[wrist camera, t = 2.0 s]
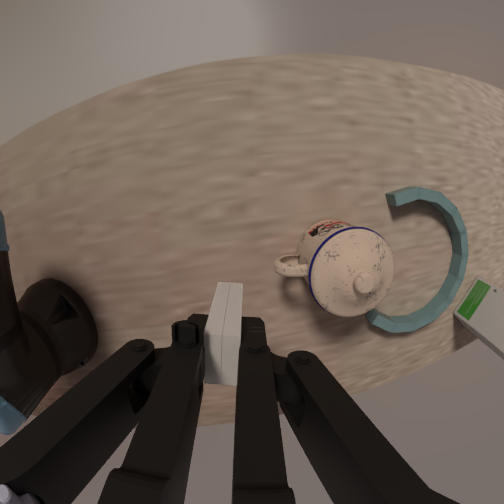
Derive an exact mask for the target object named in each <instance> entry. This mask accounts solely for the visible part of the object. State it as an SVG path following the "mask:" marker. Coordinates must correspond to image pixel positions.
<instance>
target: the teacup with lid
mask: <svg viewBox="0 0 504 504" xmlns="http://www.w3.org/2000/svg"><path fill="white" fill-rule="evenodd" d="M274 270H275V272H276V273H278V274H279V275H282V276H287V277H304V279H305V280H306V282H307V283H308V285H309V287H310V291H311V293H312V296H313V298H314V299H315V301H316V302H317V304H318V305H319V306H320V307H321V308H323V309H324V310H325V311H327V312H329V313H331V314H333V315H337V316H341V317H354V316H358V315H361V314H364V313H366V312H368V311H370V310H372V309H373V308H374V307H376V306H377V305H378V304H379V303H380V302H381V301H382V300H383V299H384V297H385V296H386V294H387V293H388V291H389V289H390V287H391V284H392V281H393V277H394V259H393V255H392V252H391V249H390V248H389V246H388V244H387V242H386V241H385V240H384V239H383V238H382V237H381V236H380V235H379V234H378V233H376V232H375V231H373V230H370V229H368V228H364V227H356V226H353V225H351V224H348V223H345V222H343V221H339V220H324V221H320V222H318V223H316V224H314V225H313V226H311V227H310V228H309V229H308V230H307V231H306V232H305V233H304V234H303V236H302V237H301V239H300V241H299V244H298V247H297V254H296V255H285V256H282V257H279V258H277V259H276V260H275V262H274Z"/></svg>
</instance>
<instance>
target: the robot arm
mask: <svg viewBox="0 0 504 504" xmlns="http://www.w3.org/2000/svg"><path fill="white" fill-rule="evenodd" d="M8 251H9V245H8V244H7V238H6V230H5V221H4V216H3V214H2V212H1V210H0V433H2V434H5V435H10V434H13V433H14V432H15V431H16V430H17V429H18V428H19V427H20V426H21V425H22V423H23V422H26V420H27V419H28V417H29V416H30V415H31V413H32V412H33V411H34V409H35V408H36V407H37V405H38V404H39V403H40V401H41V400H42V399H43V397H44V396H45V395H46V394H47V392H48V391H49V390H50V388H51V387H52V386H53V385H54V383H55V382H56V381H57V380H58V379H59V378H60V377H61V376H63V375H65V374H67V373H70V372H72V371H74V370H76V369H78V368H80V367H82V366H84V365H85V364H86V363H87V362H88V361H89V360H90V359H91V357H92V356H93V355H94V353H95V351H96V348H97V341H98V340H97V330H96V326H95V323H94V320H93V318H92V315H91V313H90V311H89V310H88V308H87V306H86V305H85V303H84V302H83V301H82V299H81V298H80V297H79V296H78V295H77V293H76V292H75V291H73V290H72V289H71V288H70V287H69V286H67V285H66V284H64V283H62V282H60V281H58V280H55V279H50V278H47V279H42V280H40V281H38V282H36V283H34V284H32V285H31V286H30V287H29V288H28V289H27V290H26V291H25V293H24V295H23V296H22V297H21V299H20V300H19V301H18V303H17V301H16V296H15V292H14V287H13V282H12V276H11V270H10V263H9V256H8ZM242 290H243V283H231V284H230V283H228V282H218V285H217V288H216V292H215V295H214V299H213V302H212V306H211V309H210V313H209V315H204V314H192V315H191V316H190V317H188V319H187V320H182V321H178V322H175V323H174V324H173V325H172V344H171V347H167V348H156V349H154V344H153V343H152V342H151V341H148V340H145V339H135V340H131V341H129V342H128V343H126V344H125V345H124V346H123V347H121V348H120V349H119V350H118V351H116V352H115V353H114V354H113V355H111V356H110V357H109V358H108V359H107V360H105V361H104V362H103V363H102V364H100V365H99V366H98V367H97V368H96V369H94V370H93V371H92V372H91V373H89V374H88V375H87V376H86V377H85V378H83V379H82V380H81V381H80V382H78V383H77V384H76V385H75V386H74V387H72V388H71V389H70V390H69V391H68V392H66V393H65V394H64V395H63V396H61V397H60V398H59V399H58V400H57V401H55V402H54V403H53V404H52V405H51V406H49V407H48V408H47V409H46V410H45V411H43V412H42V413H41V414H40V415H39V416H37V417H36V418H35V419H34V420H33V421H31V422H30V423H29V424H28V425H27V426H25V427H24V428H23V429H22V430H21V431H19V432H18V433H17V434H16V435H15V436H14V437H12V438H11V439H10V440H9V441H7V442H6V443H5V444H4V445H3V446H1V447H0V504H71V503H72V502H73V501H74V500H75V498H76V497H77V496H78V495H79V494H80V492H81V491H82V490H83V489H84V488H85V487H86V485H87V484H88V483H89V482H90V481H91V479H92V478H93V477H94V476H95V475H96V473H97V472H98V471H99V470H100V468H101V467H102V466H103V465H104V464H105V462H106V461H107V460H108V459H109V458H110V456H111V455H112V454H113V453H114V451H115V450H116V449H117V448H118V447H119V445H120V444H121V443H122V442H123V440H124V439H125V438H126V437H127V435H128V434H129V433H130V432H131V430H132V429H133V428H134V427H135V426H136V424H137V423H138V422H139V423H138V425H137V428H136V431H135V433H134V435H133V438H132V441H131V443H130V446H129V449H128V451H127V454H126V456H125V459H124V461H123V464H122V466H121V467H120V468H118V469H117V468H114V469H113V470H112V471H111V472H110V473H109V475H108V478H107V480H106V483H105V485H104V488H103V490H102V493H101V496H100V498H99V501H98V504H184V500H185V493H186V487H187V481H188V475H189V468H190V463H191V456H192V451H193V445H194V439H195V434H196V428H197V422H198V417H199V411H200V406H201V400H202V395H203V380H204V383H208V384H220V385H234V386H237V392H236V412H235V435H234V458H233V481H232V504H295V497H294V493H293V490H292V488H289V486H288V483H287V475H286V467H285V459H284V452H283V443H282V436H281V428H280V420H279V413H278V405H277V401H279V403H280V407H281V409H282V411H283V413H284V414H285V416H286V418H287V420H288V422H289V424H290V426H291V428H292V430H293V431H294V434H295V435H296V437H297V439H298V441H299V443H300V445H301V447H302V448H303V450H304V452H305V454H306V456H307V458H308V459H309V461H310V463H311V465H312V466H313V468H314V470H315V472H316V474H317V475H318V477H319V479H320V481H321V482H322V484H323V486H324V487H325V489H326V491H327V493H328V495H329V496H330V498H331V500H332V501H333V503H334V504H460V503H457V502H456V501H453V500H451V499H449V498H447V497H445V496H443V495H441V494H439V493H437V492H435V491H433V490H432V489H430V488H429V487H428V486H427V485H426V484H425V483H424V482H423V481H422V479H421V478H420V477H419V476H418V475H417V474H416V473H415V471H414V470H413V469H412V468H411V467H410V466H409V465H408V463H407V462H406V461H405V460H404V459H403V458H402V457H401V455H400V454H399V453H398V452H397V451H396V450H395V448H394V447H393V446H392V445H391V444H390V443H389V441H388V440H387V439H386V438H385V437H384V436H383V435H382V433H381V432H380V431H379V430H378V429H377V428H376V427H375V425H374V424H373V423H372V422H371V421H370V419H369V418H368V417H367V416H366V415H365V413H364V412H363V411H362V410H361V409H360V408H359V406H358V405H357V404H356V403H355V402H354V400H353V399H352V398H351V397H350V396H349V394H348V393H347V392H346V391H345V390H344V388H343V387H342V386H341V385H340V384H339V382H338V381H337V380H336V379H335V378H334V376H333V375H332V374H331V373H330V372H329V370H328V369H327V368H326V367H325V366H324V364H323V363H322V362H321V361H320V360H319V358H318V357H317V356H316V355H314V354H313V353H311V352H308V351H294V352H291V353H290V354H288V357H287V358H286V357H281V356H278V355H275V354H273V353H272V352H270V348H269V346H267V341H266V333H265V325H264V322H263V320H262V319H261V318H257V317H242Z"/></svg>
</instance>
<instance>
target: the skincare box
mask: <svg viewBox="0 0 504 504" xmlns="http://www.w3.org/2000/svg"><path fill="white" fill-rule="evenodd" d="M453 314H454V315H455V316H456V317H457V318H458V320H459V321H460V322H461V323H462V324H463V325H464V326H465V328H467V329H468V330H469V331H470V332H471V333H473V334H474V335H475V336H476V337H477V338H479V339H480V340H481V341H482V342H483V343H485V344H486V345H487V346H488V347H489V348H490V349H492V350H493V351H494V352H495V353H496V354H497V355H498V356H500V357H501V358H502V359H503V360H504V290H503V289H501V288H499V287H497V286H495V285H494V284H492V283H490V282H488V281H486V280H484V279H483V278H481V277H479V276H478V277H477V278H476V279H475V281H474V283H473V284H472V286H471V287H470V289H469V290H468V292H467V293H466V295H465V296H464V298H463V299H462V301H461V302H460V304H459V305H458V307H457V308H456V309H455V311H454V312H453Z"/></svg>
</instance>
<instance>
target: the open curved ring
mask: <svg viewBox="0 0 504 504" xmlns="http://www.w3.org/2000/svg"><path fill="white" fill-rule="evenodd" d="M386 198H387V202H388V205H392V206H400V205H403V204H406V203H409V202H412V201H415V200H423V201H428V202H429V203H430V204H431V205H433V206H434V207H435V208H436V209H437V210H439V211H440V212H441V213H442V214H443V216H444V218H445V220H446V223H447V225H448V227H449V229H450V231H451V239H452V249H453V254H452V259H451V264H450V269H449V274H448V276H447V278H446V280H445V281H444V283H443V285H442V287H441V289H440V291H439V293H438V294H437V295H436V296H435V297H434V298H433V299H432V300H431V301H430V302H429V303H428V304H427V305H426V306H425V307H424V308H421V309H419V310H417V311H415V312H413V313H411V314H409V315H407V316H387V315H385V314H383V313H381V312H379V311H377V310H375V309H372V310H370V311H369V312H368V313H367V315H366V316H365V317H366V318H367V319H368V320H369V321H370V322H371V323H372V324H373V325H375V326H377V327H380V328H382V329H384V330H386V331H388V332H391V333H398V332H412V331H415V330H417V329H419V328H421V327H423V326H425V325H427V324H429V323H431V322H433V321H434V320H435V319H436V318H437V317H438V316H439V315H440V314H441V313H442V312H443V311H444V310H445V309H446V308H447V307H448V306H449V305H450V304H451V302H452V300H453V299H454V297H455V295H456V293H457V291H458V289H459V287H460V285H461V283H462V281H463V278H464V274H465V270H466V265H467V260H468V240H467V229H466V227H465V225H464V222H463V220H462V218H461V215H460V213H459V211H458V209H457V207H456V206H455V205H454V204H453V203H452V202H451V201H450V200H448V199H447V198H446V197H445V196H444V195H443V194H442V193H441V192H438V191H434V190H429V189H425V188H421V187H406V188H402V189H399V190H396V191H393V192H389V193H386Z"/></svg>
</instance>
